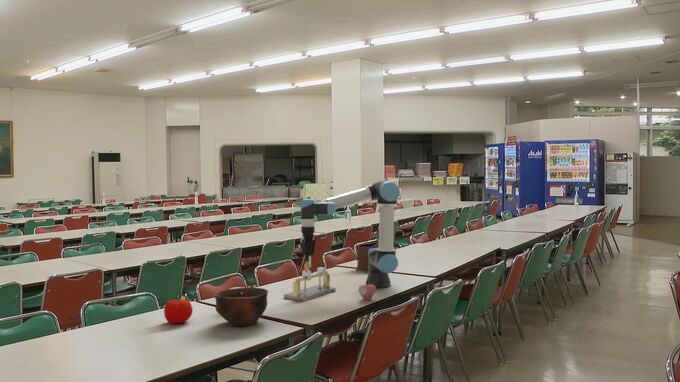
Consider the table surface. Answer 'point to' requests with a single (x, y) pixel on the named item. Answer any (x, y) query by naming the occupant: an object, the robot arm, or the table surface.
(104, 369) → the table surface
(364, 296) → the apple
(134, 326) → the table surface
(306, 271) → the slider leg
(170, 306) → the tomato
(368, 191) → the robot arm
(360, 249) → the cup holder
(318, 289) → the grey and yellow frame
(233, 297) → the bowl
